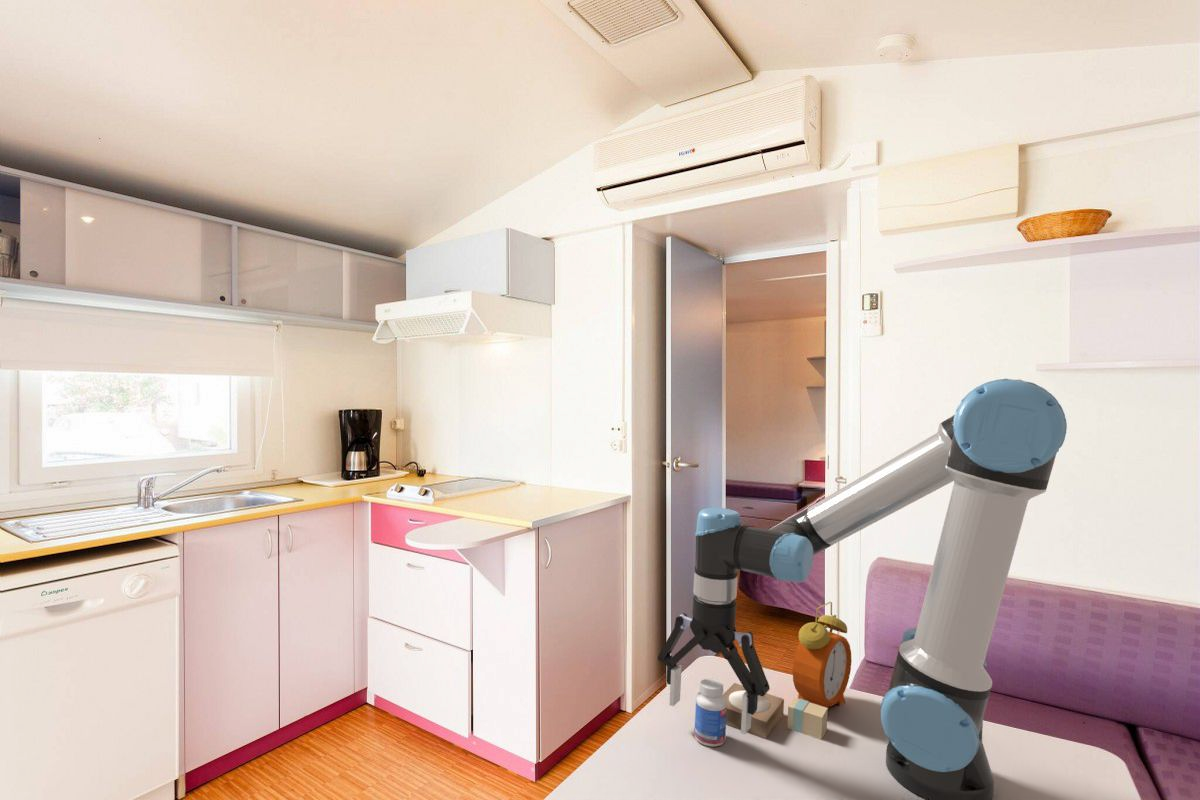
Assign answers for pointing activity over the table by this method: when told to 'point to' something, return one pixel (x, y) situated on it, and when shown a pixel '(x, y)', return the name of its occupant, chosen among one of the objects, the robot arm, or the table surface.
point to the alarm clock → (822, 661)
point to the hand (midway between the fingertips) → (709, 716)
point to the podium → (764, 716)
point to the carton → (807, 718)
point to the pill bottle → (710, 713)
